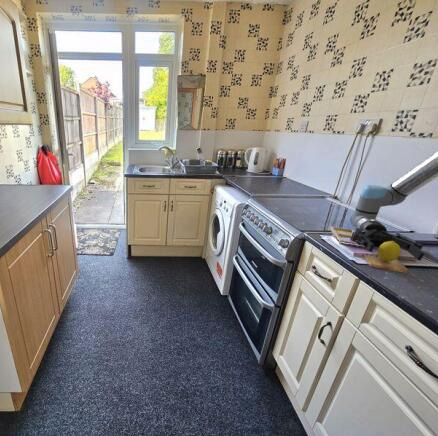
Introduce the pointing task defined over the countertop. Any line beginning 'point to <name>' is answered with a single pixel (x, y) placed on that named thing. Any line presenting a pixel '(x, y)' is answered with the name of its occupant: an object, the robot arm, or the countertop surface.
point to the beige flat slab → (342, 233)
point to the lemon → (389, 251)
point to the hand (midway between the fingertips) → (395, 252)
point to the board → (386, 264)
